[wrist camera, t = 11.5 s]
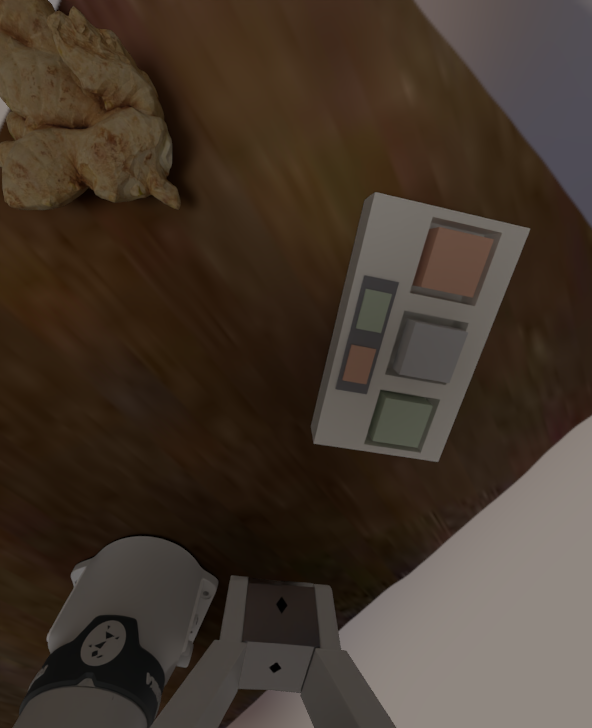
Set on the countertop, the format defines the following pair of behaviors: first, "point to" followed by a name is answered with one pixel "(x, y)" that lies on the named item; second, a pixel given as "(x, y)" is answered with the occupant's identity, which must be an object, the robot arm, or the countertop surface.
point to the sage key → (399, 419)
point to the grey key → (429, 350)
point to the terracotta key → (452, 261)
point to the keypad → (389, 315)
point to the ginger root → (76, 113)
